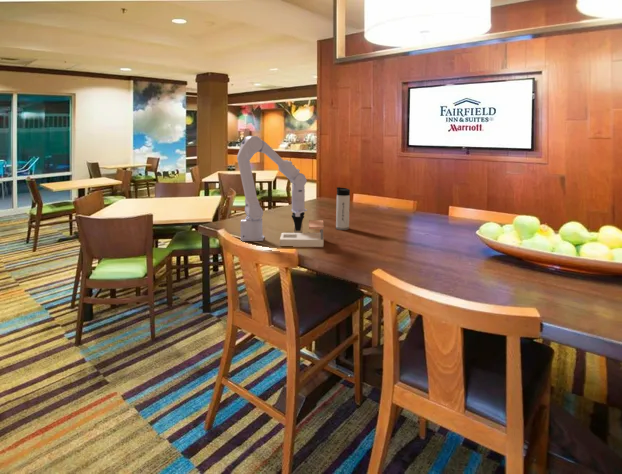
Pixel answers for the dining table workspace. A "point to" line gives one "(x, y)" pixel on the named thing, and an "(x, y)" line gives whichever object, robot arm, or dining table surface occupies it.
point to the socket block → (304, 237)
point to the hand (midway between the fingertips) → (298, 229)
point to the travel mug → (342, 208)
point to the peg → (300, 230)
